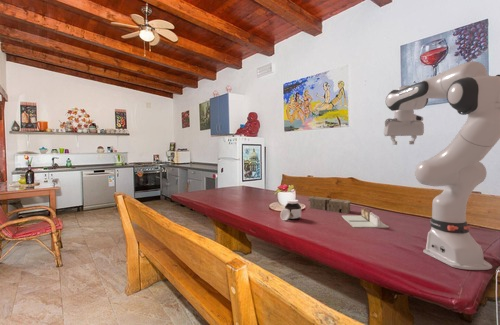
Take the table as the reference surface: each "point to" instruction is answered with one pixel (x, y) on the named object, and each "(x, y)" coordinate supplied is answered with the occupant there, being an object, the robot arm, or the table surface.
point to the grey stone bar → (329, 204)
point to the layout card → (362, 222)
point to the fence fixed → (366, 213)
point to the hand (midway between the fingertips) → (403, 144)
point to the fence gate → (374, 219)
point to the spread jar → (291, 210)
